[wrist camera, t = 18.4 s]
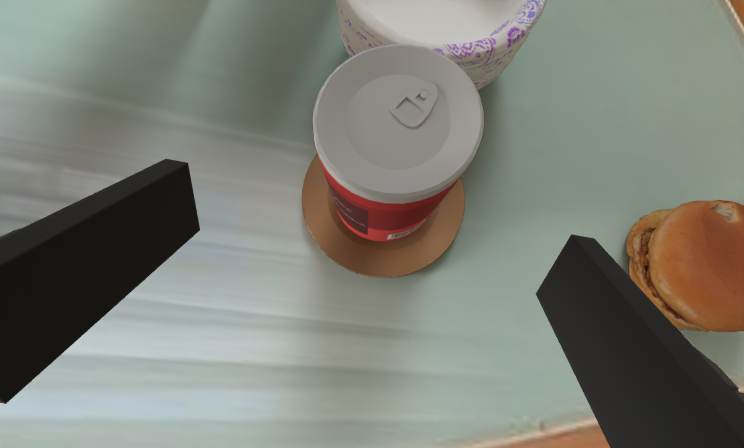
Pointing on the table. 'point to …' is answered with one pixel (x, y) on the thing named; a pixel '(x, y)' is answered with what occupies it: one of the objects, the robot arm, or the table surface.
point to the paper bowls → (443, 29)
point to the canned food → (395, 136)
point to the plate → (378, 255)
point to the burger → (692, 264)
